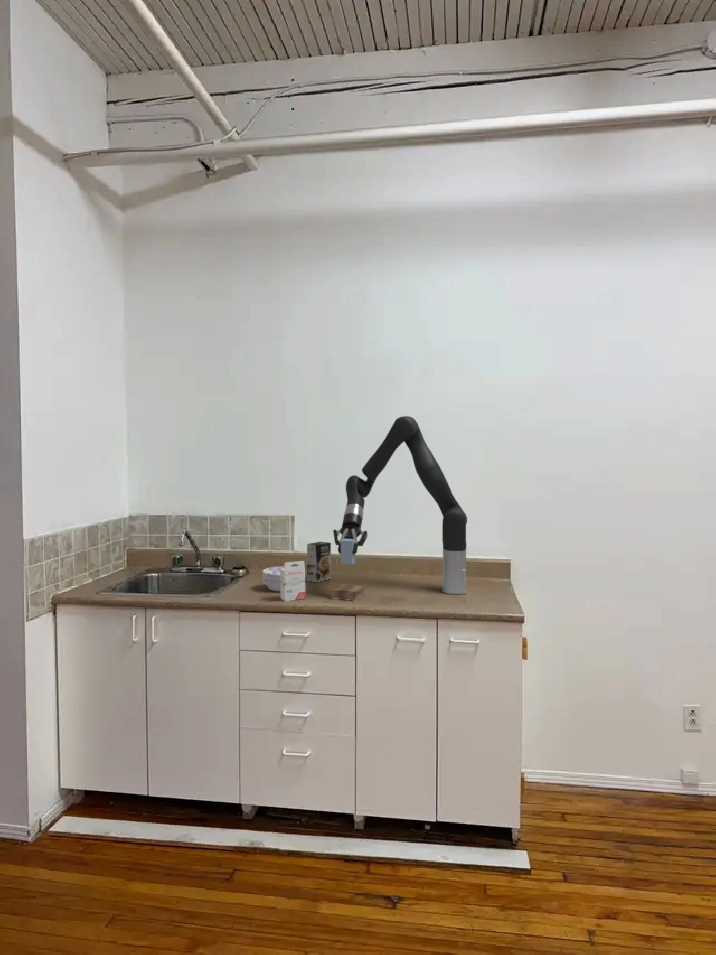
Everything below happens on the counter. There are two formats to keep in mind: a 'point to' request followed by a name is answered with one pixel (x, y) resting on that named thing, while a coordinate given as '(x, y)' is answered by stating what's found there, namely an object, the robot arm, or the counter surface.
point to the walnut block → (347, 592)
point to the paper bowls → (272, 577)
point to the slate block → (347, 551)
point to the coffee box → (318, 561)
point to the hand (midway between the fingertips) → (346, 553)
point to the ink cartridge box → (292, 581)
